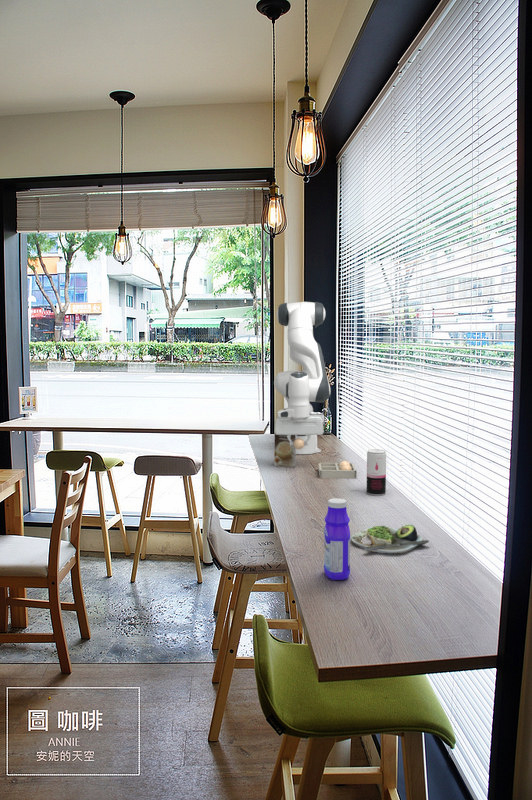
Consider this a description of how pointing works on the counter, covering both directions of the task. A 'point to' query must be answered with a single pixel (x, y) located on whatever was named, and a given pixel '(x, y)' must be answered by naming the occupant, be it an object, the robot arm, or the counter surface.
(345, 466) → the egg
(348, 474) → the carton
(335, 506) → the bottle
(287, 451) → the coffee box
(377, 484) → the beverage can
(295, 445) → the egg
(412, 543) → the avocado toast plate
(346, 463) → the egg
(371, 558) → the counter surface
